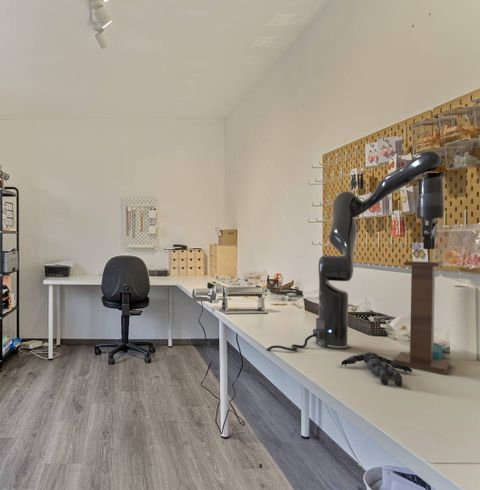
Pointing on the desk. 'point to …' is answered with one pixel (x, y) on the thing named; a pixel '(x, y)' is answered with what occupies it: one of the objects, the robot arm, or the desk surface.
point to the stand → (422, 320)
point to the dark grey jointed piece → (380, 366)
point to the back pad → (437, 351)
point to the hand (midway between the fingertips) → (429, 249)
